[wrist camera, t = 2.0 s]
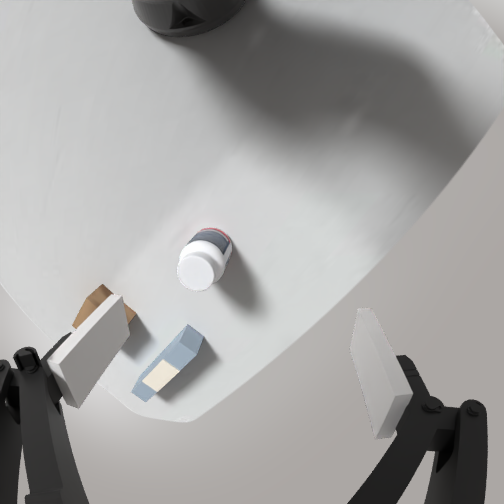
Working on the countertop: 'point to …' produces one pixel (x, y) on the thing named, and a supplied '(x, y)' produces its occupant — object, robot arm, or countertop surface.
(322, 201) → the countertop surface
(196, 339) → the blue and cream block
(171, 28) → the robot arm
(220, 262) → the pill bottle
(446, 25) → the countertop surface
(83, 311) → the walnut block
